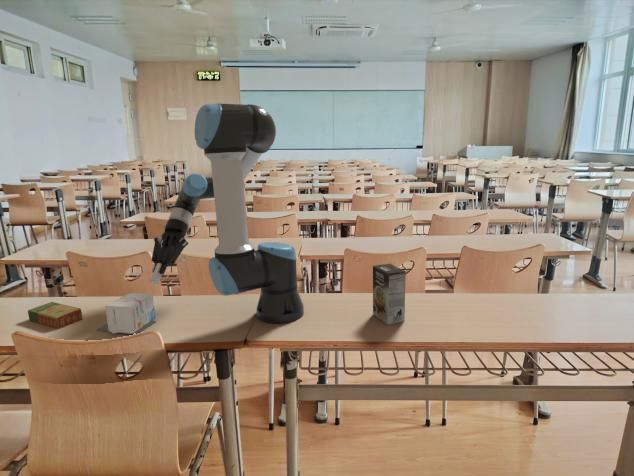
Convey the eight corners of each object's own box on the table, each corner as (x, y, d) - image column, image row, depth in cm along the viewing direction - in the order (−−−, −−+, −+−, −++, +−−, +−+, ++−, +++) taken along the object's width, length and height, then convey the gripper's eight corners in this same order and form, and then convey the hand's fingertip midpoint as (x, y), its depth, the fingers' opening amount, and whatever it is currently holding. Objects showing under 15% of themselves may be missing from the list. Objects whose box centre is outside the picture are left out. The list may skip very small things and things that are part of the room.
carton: (58, 330, 131) (55, 317, 130) (28, 321, 138) (26, 309, 137) (83, 320, 138) (81, 307, 137) (54, 312, 146) (52, 300, 145)
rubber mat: (155, 322, 134) (155, 321, 134) (134, 335, 125) (134, 333, 125) (119, 317, 138) (119, 316, 138) (97, 330, 129) (96, 328, 129)
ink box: (155, 318, 136) (130, 337, 123) (132, 316, 137) (104, 335, 125) (153, 293, 134) (126, 309, 121) (129, 291, 135) (100, 308, 123)
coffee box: (372, 314, 134) (371, 265, 131) (389, 310, 136) (389, 262, 133) (387, 325, 126) (387, 273, 122) (405, 321, 128) (406, 270, 125)
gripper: (199, 229, 154) (176, 288, 143) (168, 228, 158) (144, 285, 147) (189, 218, 148) (164, 278, 137) (157, 217, 152) (131, 276, 140)
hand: (154, 282), depth 142 cm, fingers closed
